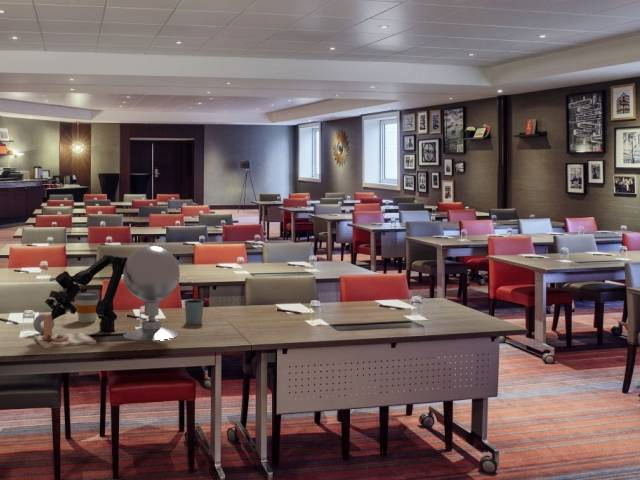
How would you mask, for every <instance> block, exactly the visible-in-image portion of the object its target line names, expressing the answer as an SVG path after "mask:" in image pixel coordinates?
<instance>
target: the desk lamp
mask: <svg viewBox="0 0 640 480" xmlns="http://www.w3.org/2000/svg"><path fill="white" fill-rule="evenodd" d="M127 258H128V259H127V261H126V263H125V266H124V271H123V275H122V276H123V281H124V284H125V286H126V288H127V290H128V291H129V292H130V293H131V295H133V296H134V297H136V298H137V299H139V300H141V301H142V302H144V316H145V317H147V319H144V320H142V323H141V324H142V325H141V327H138V328H136V329H133V330H130V331H128V332H126V334H125V333H124V334H123V335H122V336H123V338H125V339H127V340H132V341H138V342H139V341H141V342H151V341H152V342H156V341H155V340H160V341H165V340H164V339H168V340H170V339H169V338H173V339H175V338H174V337H176V336H178V335H179V336H180V333H179V332H177V331H174V330H171V329H168V328H166V327H162V323H161V320H159V319H157V318H156V317H157V316H159V315H160V313H159V311H160V310H159V308H160V307H159V305H160V304H159V303H160V302H161V301H162V300H164V299H165V298H167V297H169V296H170V295H172V293H173V292H174V291H175V290H176V288H177V287H178V284H179V281H180V277H181V276H180V275H181V272H180V266H179V263H178V260H177V259H176V257H175V256H174V255H173V254H172V252H170V251H169V250H167V249H165V248H164V247H161V246H157V245H146V246H142V247H140V248H138V249H136V250H135V251H134V252H132V253H131V254H130V255H129V256H128V257H127ZM178 333H179V334H178ZM179 336H178V337H179ZM176 338H177V337H176Z"/></svg>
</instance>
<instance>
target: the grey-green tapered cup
mask: <svg viewBox="0 0 640 480" xmlns="http://www.w3.org/2000/svg"><path fill="white" fill-rule="evenodd" d="M184 309H185V311H184V312H185V323H186V324H187V323H188V324H187V325H201V324H203V312H204V300H202V299H188V300H187V299H186V300H184Z"/></svg>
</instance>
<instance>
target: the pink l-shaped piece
mask: <svg viewBox="0 0 640 480" xmlns="http://www.w3.org/2000/svg"><path fill="white" fill-rule="evenodd" d="M46 314H47V313H46ZM43 327H44V334H43V335H42V336H43V337H41V339H46V340H47V335H51V340H52V341H65V340H67V339H69V337H63V338H62V339H59V338H57V336H52V335H53V329H52V315H51V314H47V315H44V321H43Z"/></svg>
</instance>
